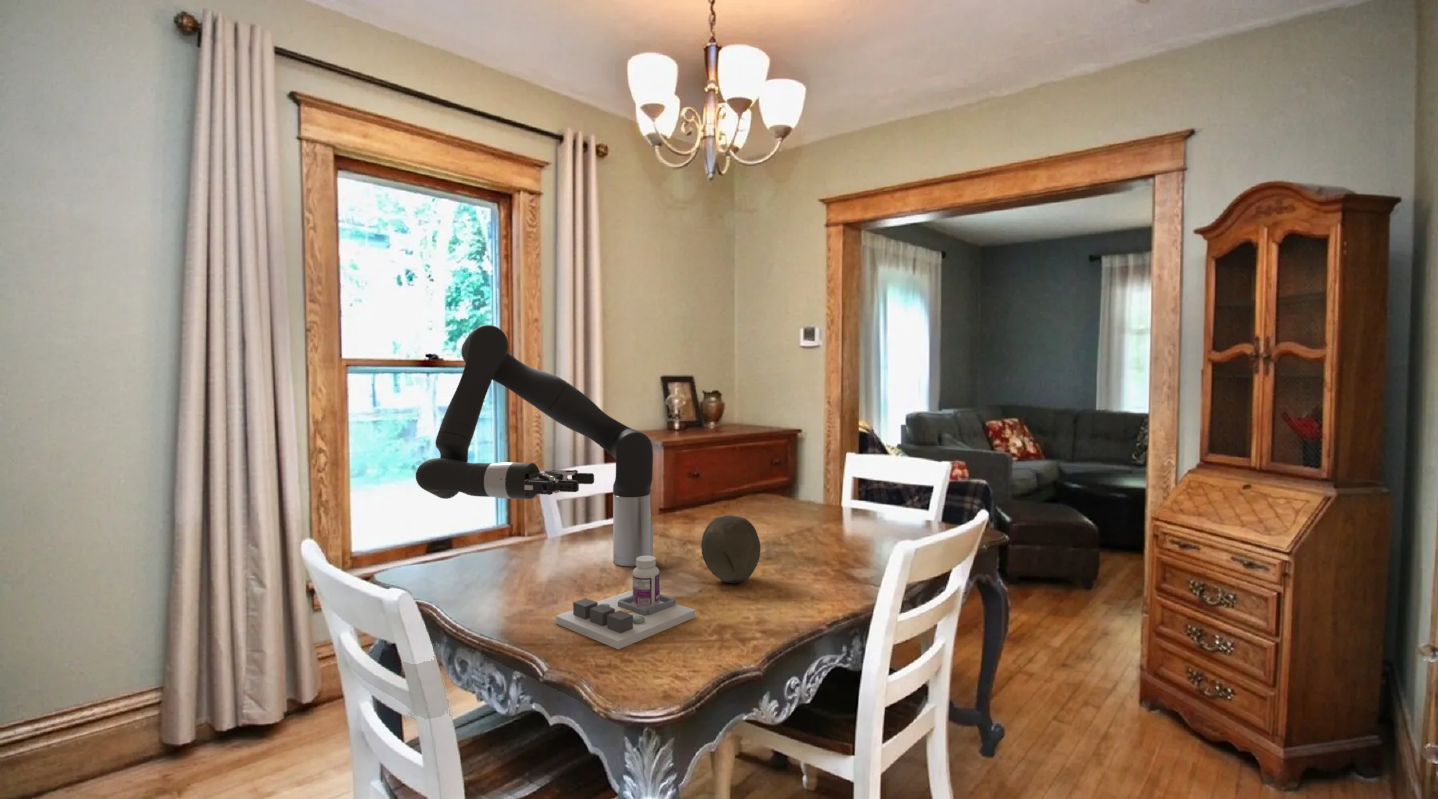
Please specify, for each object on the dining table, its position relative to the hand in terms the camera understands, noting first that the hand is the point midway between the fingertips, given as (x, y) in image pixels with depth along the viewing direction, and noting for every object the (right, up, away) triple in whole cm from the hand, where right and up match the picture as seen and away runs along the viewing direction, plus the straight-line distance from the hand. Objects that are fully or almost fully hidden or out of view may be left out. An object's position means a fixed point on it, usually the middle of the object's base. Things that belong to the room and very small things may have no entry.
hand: (586, 482), depth 139 cm
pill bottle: (+13, -25, -2) cm, 28 cm away
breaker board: (+9, -26, -6) cm, 28 cm away
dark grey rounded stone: (+30, -25, +18) cm, 43 cm away
